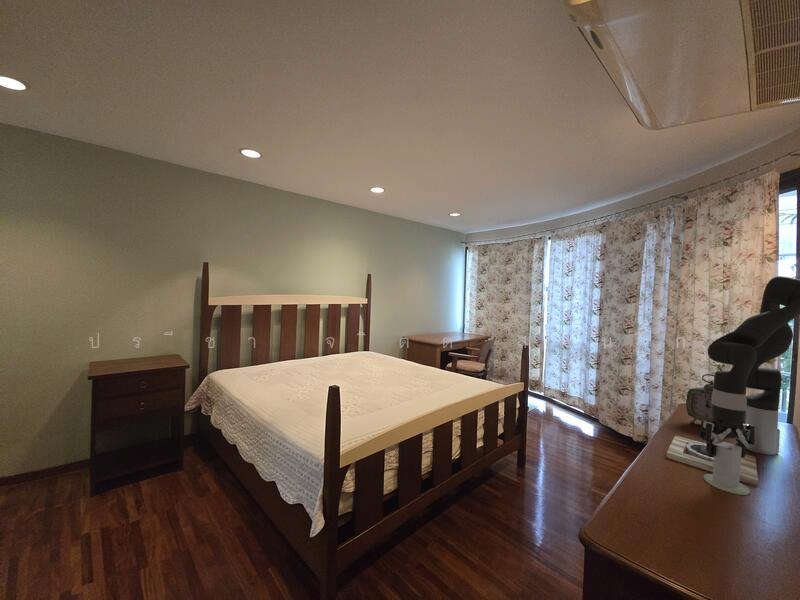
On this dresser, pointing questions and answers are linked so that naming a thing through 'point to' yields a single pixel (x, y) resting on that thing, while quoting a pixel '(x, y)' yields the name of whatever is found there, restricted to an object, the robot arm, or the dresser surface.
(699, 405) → the tabletop clock
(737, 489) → the coaster
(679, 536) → the dresser surface
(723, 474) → the skincare box
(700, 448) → the segmented octagonal ring
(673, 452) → the striped wooden board
